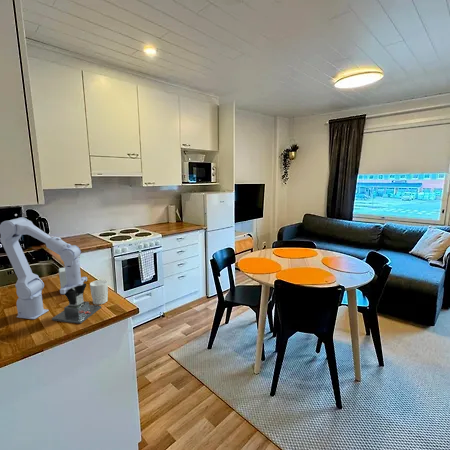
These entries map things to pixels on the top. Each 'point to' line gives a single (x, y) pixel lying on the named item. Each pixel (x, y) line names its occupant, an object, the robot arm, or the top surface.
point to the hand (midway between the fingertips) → (76, 301)
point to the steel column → (77, 300)
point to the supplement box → (63, 277)
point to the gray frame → (76, 313)
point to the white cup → (99, 291)
